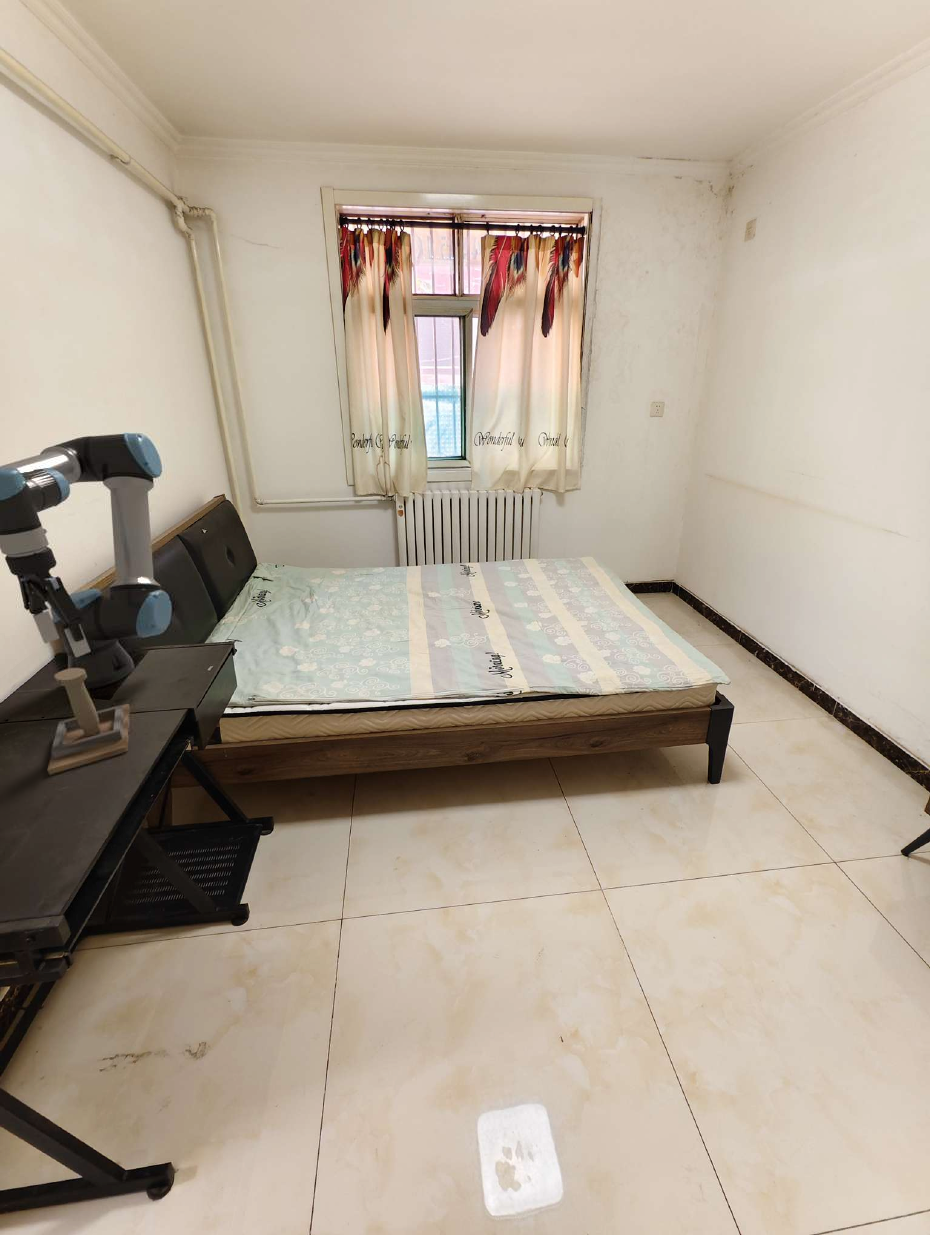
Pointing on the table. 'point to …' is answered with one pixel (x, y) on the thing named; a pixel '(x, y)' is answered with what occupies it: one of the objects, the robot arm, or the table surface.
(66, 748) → the collar board
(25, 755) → the table surface
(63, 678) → the handle
